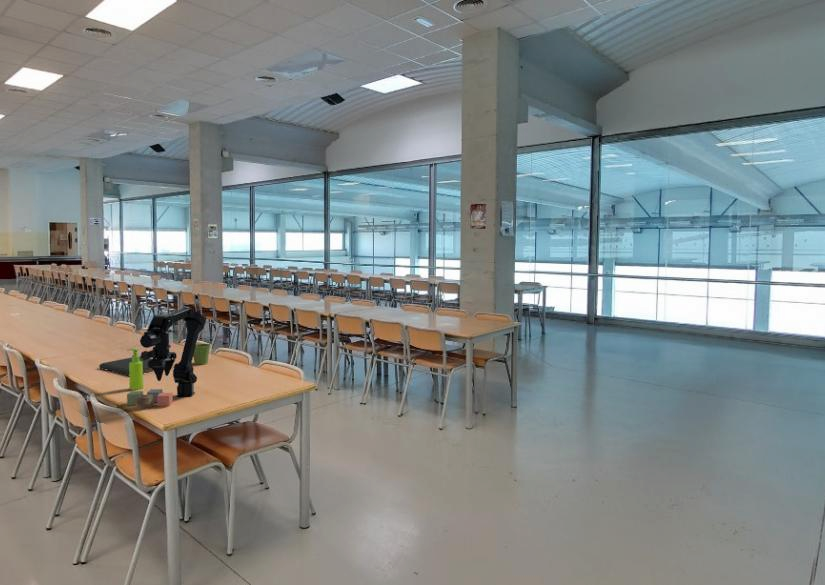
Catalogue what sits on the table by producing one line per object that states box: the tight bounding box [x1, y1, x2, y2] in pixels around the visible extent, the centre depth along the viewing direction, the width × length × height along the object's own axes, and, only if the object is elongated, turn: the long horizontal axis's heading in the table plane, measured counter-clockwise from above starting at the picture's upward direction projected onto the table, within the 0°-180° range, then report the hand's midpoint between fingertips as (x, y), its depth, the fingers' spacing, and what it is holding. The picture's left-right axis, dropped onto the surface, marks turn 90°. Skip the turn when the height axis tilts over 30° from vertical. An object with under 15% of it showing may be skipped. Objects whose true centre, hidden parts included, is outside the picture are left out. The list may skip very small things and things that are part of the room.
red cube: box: [156, 392, 174, 407], centre depth 241 cm, size 5×5×5 cm
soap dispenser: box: [126, 347, 144, 391], centre depth 266 cm, size 6×7×20 cm
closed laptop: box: [98, 355, 154, 376], centre depth 308 cm, size 33×4×24 cm
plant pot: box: [193, 343, 212, 365], centre depth 323 cm, size 12×12×11 cm
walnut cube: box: [136, 394, 154, 410], centre depth 237 cm, size 5×5×5 cm
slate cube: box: [146, 388, 164, 402], centre depth 246 cm, size 5×5×5 cm
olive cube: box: [126, 390, 144, 406], centre depth 242 cm, size 5×5×5 cm
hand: (163, 378), depth 240 cm, fingers open, 9 cm apart
